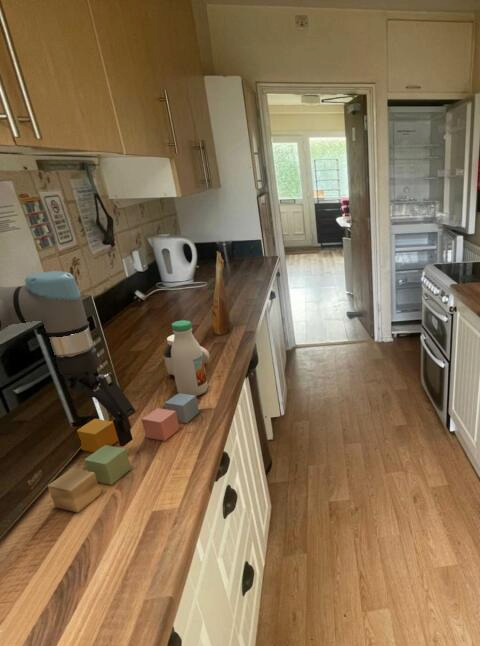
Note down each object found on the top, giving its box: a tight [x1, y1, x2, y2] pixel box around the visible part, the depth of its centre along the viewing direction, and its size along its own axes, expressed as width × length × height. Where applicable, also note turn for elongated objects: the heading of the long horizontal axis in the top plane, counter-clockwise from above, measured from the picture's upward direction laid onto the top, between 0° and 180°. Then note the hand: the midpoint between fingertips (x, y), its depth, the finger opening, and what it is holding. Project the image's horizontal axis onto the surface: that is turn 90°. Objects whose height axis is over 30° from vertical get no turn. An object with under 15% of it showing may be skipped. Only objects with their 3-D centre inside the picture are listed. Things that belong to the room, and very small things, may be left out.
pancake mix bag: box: [212, 250, 230, 336], centre depth 158 cm, size 7×19×28 cm, turn 16°
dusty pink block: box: [141, 407, 180, 442], centre depth 98 cm, size 5×5×5 cm
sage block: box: [83, 445, 132, 486], centre depth 85 cm, size 5×5×5 cm
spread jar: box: [163, 334, 211, 378], centre depth 127 cm, size 12×11×12 cm
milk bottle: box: [171, 319, 209, 397], centre depth 114 cm, size 8×8×20 cm
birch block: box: [47, 467, 102, 513], centre depth 78 cm, size 5×5×5 cm
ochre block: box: [77, 418, 119, 453], centre depth 94 cm, size 5×5×5 cm
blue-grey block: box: [164, 392, 200, 424], centre depth 105 cm, size 5×5×5 cm
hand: (100, 438), depth 94 cm, fingers open, 13 cm apart
